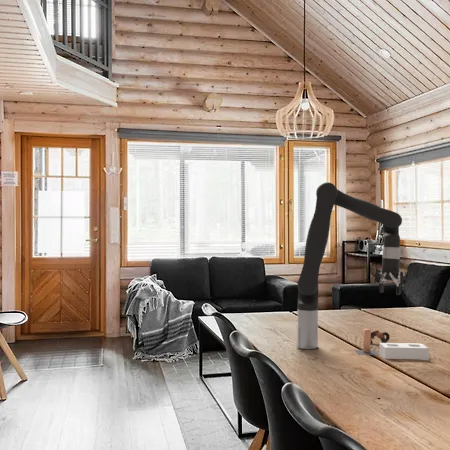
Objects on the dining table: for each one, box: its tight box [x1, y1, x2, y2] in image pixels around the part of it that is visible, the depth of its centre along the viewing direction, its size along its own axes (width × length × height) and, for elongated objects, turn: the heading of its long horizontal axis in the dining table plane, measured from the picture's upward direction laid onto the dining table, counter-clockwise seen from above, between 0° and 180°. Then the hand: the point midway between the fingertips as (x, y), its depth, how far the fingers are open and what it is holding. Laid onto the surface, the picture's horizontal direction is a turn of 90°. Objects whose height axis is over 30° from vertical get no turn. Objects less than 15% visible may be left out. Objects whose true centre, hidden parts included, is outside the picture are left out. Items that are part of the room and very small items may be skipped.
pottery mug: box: [371, 329, 391, 344], centre depth 252 cm, size 12×10×8 cm
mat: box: [354, 349, 380, 356], centre depth 236 cm, size 9×9×1 cm
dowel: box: [362, 328, 372, 353], centre depth 236 cm, size 3×3×10 cm
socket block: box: [378, 342, 430, 361], centre depth 230 cm, size 18×9×5 cm, turn 88°
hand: (389, 293), depth 242 cm, fingers open, 8 cm apart
